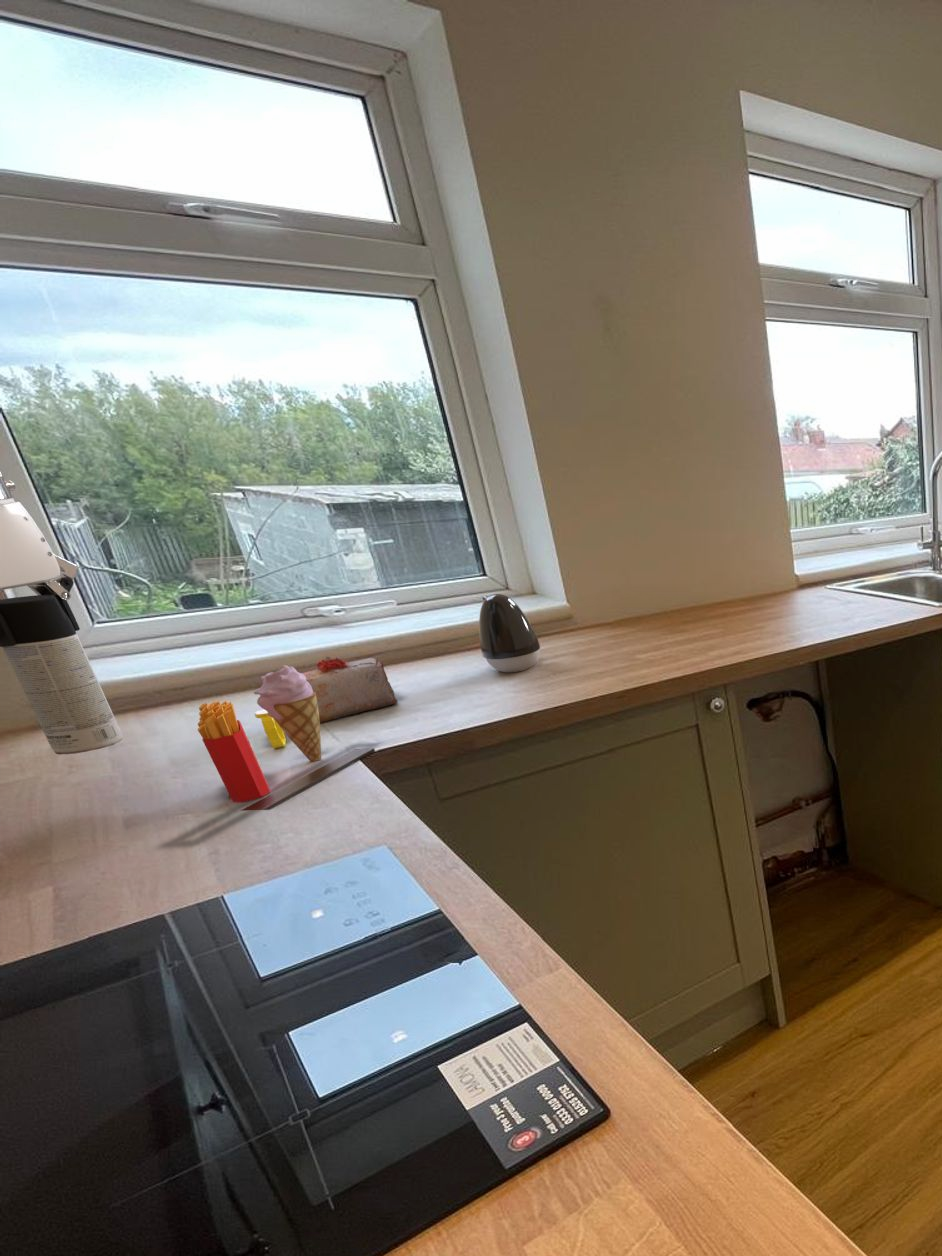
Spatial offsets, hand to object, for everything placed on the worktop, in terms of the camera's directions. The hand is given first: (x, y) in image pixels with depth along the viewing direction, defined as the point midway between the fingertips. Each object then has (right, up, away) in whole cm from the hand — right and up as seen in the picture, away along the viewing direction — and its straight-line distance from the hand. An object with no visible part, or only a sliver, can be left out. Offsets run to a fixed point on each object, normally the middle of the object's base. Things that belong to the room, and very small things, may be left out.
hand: (35, 637), depth 104 cm
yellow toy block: (+9, -14, +26) cm, 31 cm away
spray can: (+1, -14, +6) cm, 15 cm away
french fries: (+19, -21, +9) cm, 30 cm away
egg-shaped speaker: (+26, +2, +60) cm, 66 cm away
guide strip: (+25, -21, +8) cm, 34 cm away
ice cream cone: (+19, -16, +19) cm, 32 cm away
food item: (+9, -8, +40) cm, 41 cm away
